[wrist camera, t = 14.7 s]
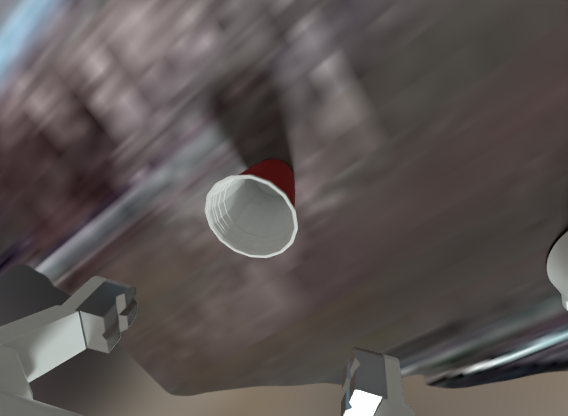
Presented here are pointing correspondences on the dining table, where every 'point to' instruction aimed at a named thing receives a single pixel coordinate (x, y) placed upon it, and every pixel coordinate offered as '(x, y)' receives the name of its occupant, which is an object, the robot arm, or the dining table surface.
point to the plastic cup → (255, 209)
